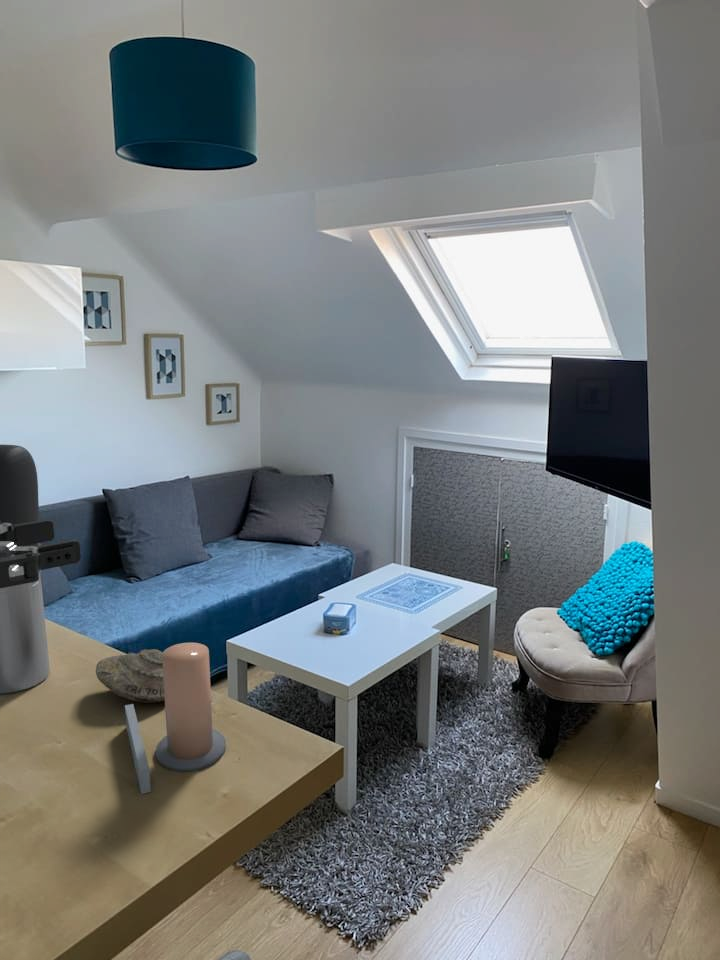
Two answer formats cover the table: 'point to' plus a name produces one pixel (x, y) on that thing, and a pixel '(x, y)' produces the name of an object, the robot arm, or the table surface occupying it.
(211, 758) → the slate coaster
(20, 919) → the table surface
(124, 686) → the fossilized seashell
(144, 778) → the gray rectangular bar
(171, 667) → the peach rounded cylinder
